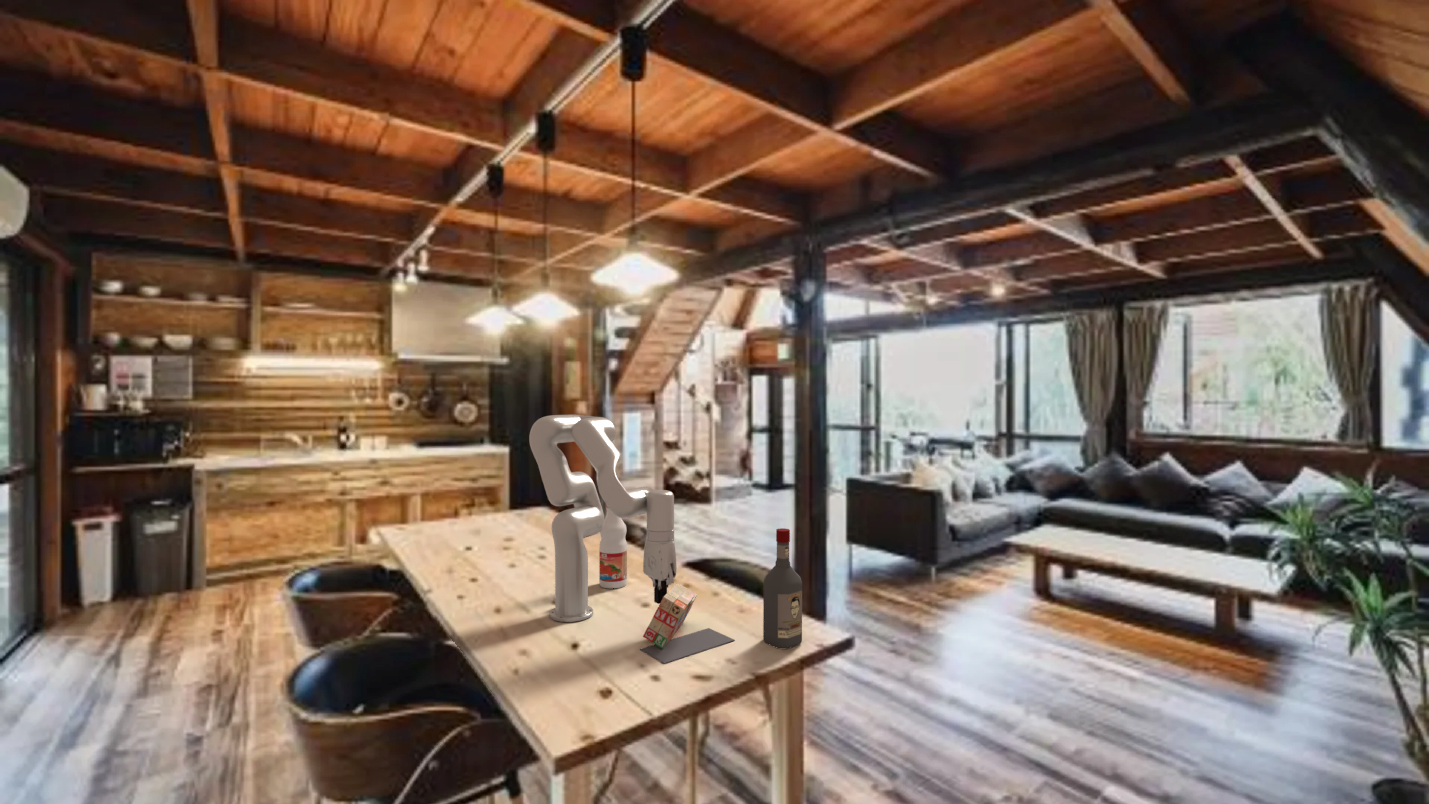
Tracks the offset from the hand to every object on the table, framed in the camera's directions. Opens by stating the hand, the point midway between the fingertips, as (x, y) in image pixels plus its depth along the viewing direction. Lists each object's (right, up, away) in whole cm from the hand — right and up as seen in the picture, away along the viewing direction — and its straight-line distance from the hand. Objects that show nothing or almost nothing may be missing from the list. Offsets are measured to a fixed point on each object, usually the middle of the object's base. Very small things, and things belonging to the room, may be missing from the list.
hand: (660, 602), depth 176 cm
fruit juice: (-20, -8, +44) cm, 49 cm away
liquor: (+33, -9, -5) cm, 35 cm away
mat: (+8, -9, -8) cm, 14 cm away
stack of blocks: (+1, -7, -1) cm, 7 cm away
